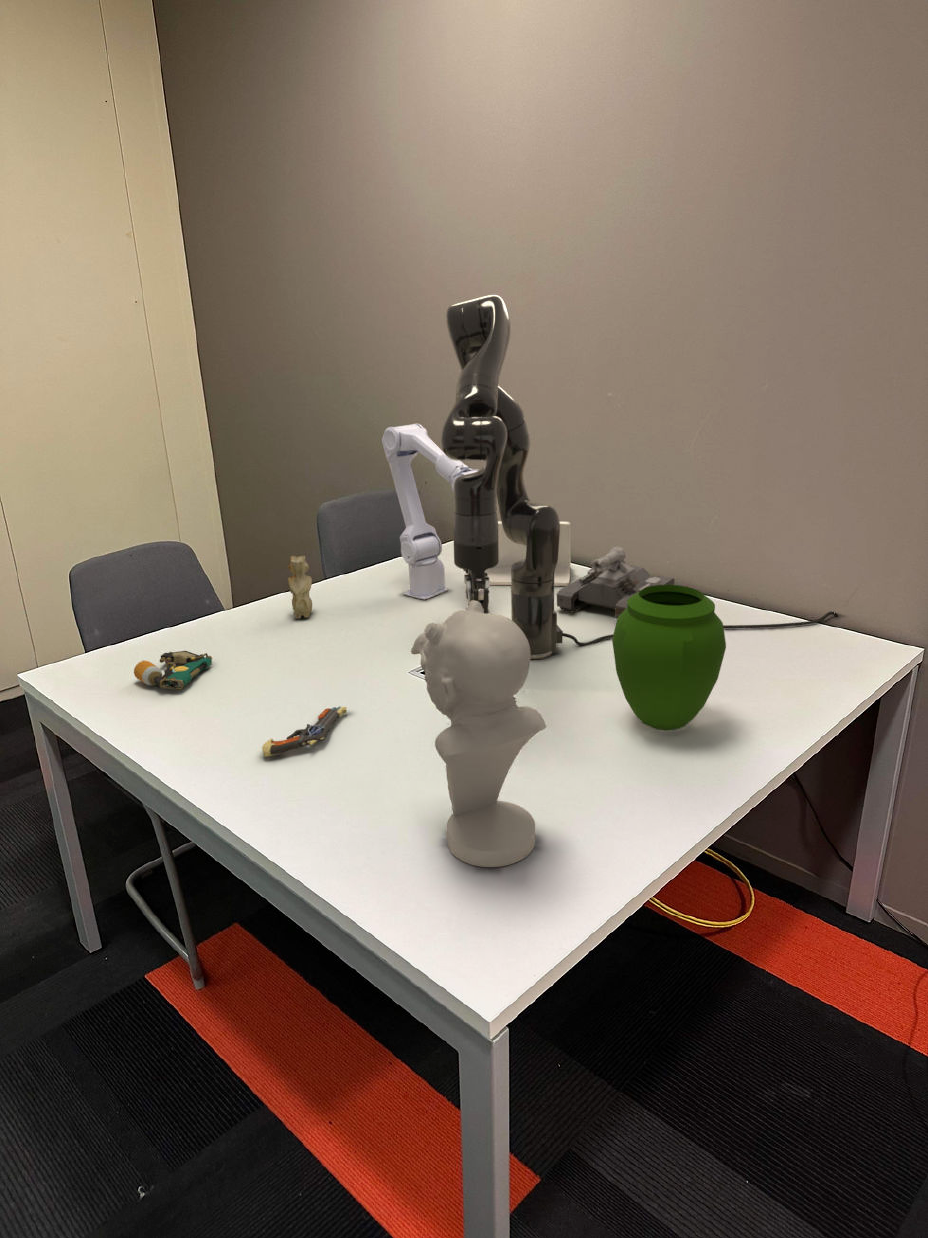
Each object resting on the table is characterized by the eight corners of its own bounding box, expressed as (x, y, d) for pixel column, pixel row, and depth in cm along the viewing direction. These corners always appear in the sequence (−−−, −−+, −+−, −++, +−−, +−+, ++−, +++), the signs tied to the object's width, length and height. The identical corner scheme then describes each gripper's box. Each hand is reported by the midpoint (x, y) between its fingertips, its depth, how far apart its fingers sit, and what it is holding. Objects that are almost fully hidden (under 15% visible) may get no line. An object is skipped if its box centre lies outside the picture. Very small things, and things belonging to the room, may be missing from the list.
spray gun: (177, 659, 191) (231, 671, 185) (120, 684, 176) (176, 698, 171) (176, 641, 190) (230, 653, 184) (118, 665, 175) (174, 678, 169)
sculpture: (316, 609, 217) (311, 553, 212) (313, 619, 210) (307, 561, 205) (293, 610, 217) (287, 554, 211) (289, 620, 210) (283, 562, 205)
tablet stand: (569, 585, 229) (570, 524, 223) (476, 584, 232) (475, 523, 226) (570, 566, 246) (571, 508, 240) (484, 564, 249) (483, 507, 243)
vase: (732, 711, 158) (744, 587, 150) (698, 758, 143) (709, 622, 134) (633, 689, 168) (638, 571, 159) (591, 730, 153) (595, 602, 144)
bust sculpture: (481, 772, 140) (476, 569, 128) (565, 848, 120) (569, 617, 108) (392, 800, 134) (378, 588, 121) (465, 886, 114) (457, 642, 101)
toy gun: (257, 746, 146) (311, 744, 144) (298, 704, 164) (347, 701, 161) (260, 761, 146) (314, 759, 144) (300, 717, 164) (349, 715, 162)
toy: (603, 584, 229) (605, 530, 224) (673, 597, 218) (677, 540, 213) (555, 612, 210) (556, 553, 205) (630, 627, 199) (633, 566, 194)
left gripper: (447, 515, 211) (449, 567, 216) (459, 529, 198) (461, 585, 203) (475, 513, 213) (476, 565, 217) (489, 527, 199) (490, 582, 204)
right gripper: (450, 528, 149) (452, 620, 155) (457, 550, 136) (459, 649, 142) (492, 526, 150) (493, 618, 156) (504, 548, 136) (504, 647, 142)
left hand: (471, 574), depth 210 cm, fingers open, 7 cm apart
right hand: (477, 632), depth 149 cm, fingers closed on brick, 4 cm apart
